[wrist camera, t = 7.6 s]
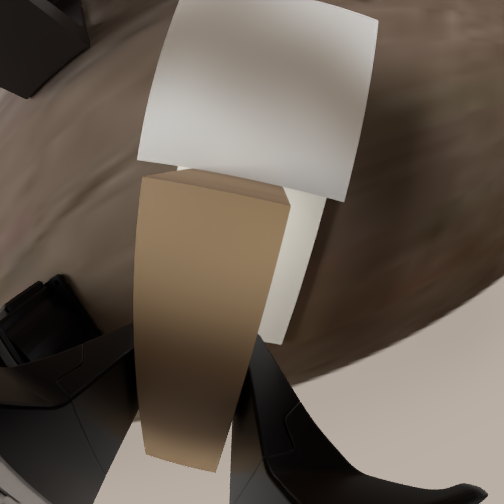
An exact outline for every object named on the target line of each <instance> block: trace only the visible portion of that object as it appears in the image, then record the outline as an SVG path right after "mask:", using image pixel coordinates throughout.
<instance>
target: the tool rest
mask: <svg viewBox="0 0 504 504" xmlns="http://www.w3.org/2000/svg"><path fill="white" fill-rule="evenodd" d="M185 169H192V168H188V167H182V166H178V169H177V171H179V170H185ZM283 189H284V191H285V193H286V196H287V198H288V200H289V203H290V205H291V208H290V212H289V216H288V220H287V224H286V228H285V232H284V236H283V240H282V244H281V248H280V252H279V256H278V260H277V264H276V267H275V271H274V275H273V279H272V283H271V286H270V290H269V294H268V297H267V301H266V305H265V309H264V312H263V316H262V319H261V323H260V327H259V330H258V334H259V335H260V336H261V338H262V339H263V341H264V342H269V343H274V344H279V345H282V342H283V339H284V336H285V333H286V331H287V328H288V325H289V322H290V319H291V316H292V313H293V310H294V307H295V304H296V301H297V297H298V294H299V291H300V288H301V285H302V282H303V278H304V275H305V272H306V269H307V265H308V262H309V259H310V255H311V252H312V249H313V245H314V242H315V238H316V235H317V231H318V228H319V224H320V220H321V217H322V213H323V209H324V206H325V202H326V197H322V196H319V195H315V194H311V193H307V192H303V191H299V190H295V189H291V188H286V187H283Z"/></svg>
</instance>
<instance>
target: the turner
mask: <svg viewBox="0 0 504 504" xmlns="http://www.w3.org/2000/svg"><path fill="white" fill-rule="evenodd" d="M377 30H378V20H376V19H373V18H370V17H368V16H365V15H362V14H359V13H356V12H353V11H350V10H347V9H344V8H341V7H337V6H334V5H330V4H327V3H323V2H319V1H315V0H179V2H178V5H177V8H176V10H175V13H174V16H173V18H172V21H171V24H170V27H169V30H168V33H167V36H166V39H165V42H164V45H163V48H162V51H161V55H160V58H159V61H158V65H157V68H156V72H155V76H154V80H153V84H152V87H151V92H150V96H149V100H148V104H147V109H146V113H145V118H144V123H143V128H142V133H141V139H140V144H139V150H138V157H137V160H141V161H149V162H156V163H163V164H169V165H175V166H182V167H188V168H192V169H185V170H179V171H172V172H166V173H161V174H155V175H149V176H144V177H142V184H141V192H140V200H139V209H138V219H137V231H136V244H135V261H134V292H133V322H134V352H135V369H136V382H137V393H138V403H139V411H140V419H141V426H142V433H143V440H144V446H145V452H146V454H147V455H150V456H153V457H156V458H159V459H163V460H166V461H170V462H173V463H177V464H180V465H185V466H188V467H193V468H197V469H201V470H205V471H210V472H216V469H217V466H218V464H219V460H220V457H221V454H222V451H223V448H224V445H225V442H226V438H227V435H228V432H229V429H230V426H231V422H232V419H233V416H234V413H235V409H236V406H237V403H238V399H239V396H240V393H241V389H242V386H243V383H244V379H245V376H246V372H247V369H248V365H249V362H250V359H251V355H252V352H253V348H254V345H255V341H256V337H257V334H258V330H259V327H260V323H261V319H262V316H263V312H264V309H265V305H266V301H267V297H268V294H269V290H270V286H271V283H272V279H273V275H274V271H275V267H276V264H277V260H278V256H279V252H280V248H281V244H282V240H283V236H284V232H285V228H286V224H287V220H288V216H289V212H290V208H291V205H290V203H289V200H288V198H287V196H286V193H285V191H284V189H283V187H286V188H291V189H295V190H299V191H303V192H307V193H311V194H315V195H319V196H322V197H326V198H330V199H334V200H337V201H341V202H344V200H345V197H346V193H347V189H348V185H349V181H350V177H351V173H352V169H353V165H354V160H355V156H356V152H357V147H358V143H359V138H360V133H361V129H362V124H363V119H364V114H365V109H366V103H367V98H368V92H369V86H370V80H371V74H372V68H373V61H374V54H375V46H376V38H377Z"/></svg>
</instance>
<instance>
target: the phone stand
mask: <svg viewBox="0 0 504 504" xmlns="http://www.w3.org/2000/svg"><path fill="white" fill-rule="evenodd" d="M81 5H82V2H81V0H0V87H1V88H3V89H6V90H8V91H10V92H12V93H14V94H16V95H18V96H20V97H22V98H25V99H28V98H29V97H30V96H31V95H32V94H33V93H34V92H35V91H36V90H37V89H38V88H39V87H40V86H41V85H42V84H44V83H45V82H46V81H47V80H48V79H49V78H50V77H51V76H52V75H53V74H55V73H56V72H57V71H58V70H59V69H60V68H62V67H63V66H64V65H65V64H66V63H68V62H69V61H70V60H71V59H73V58H74V57H75V56H76V55H78V54H79V53H80V52H82V51H83V50H84V49H86V48H87V47H88V46H90V42H89V38H88V33H87V29H86V24H85V18H84V13H83V8H82V7H81Z"/></svg>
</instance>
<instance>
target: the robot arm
mask: <svg viewBox="0 0 504 504" xmlns="http://www.w3.org/2000/svg"><path fill="white" fill-rule="evenodd" d="M58 281H59V282H58ZM138 410H139V403H138V393H137V382H136V369H135V352H134V322H132V323H130V324H128V325H125V326H123V327H121V328H118V329H116V330H114V331H112V332H109V333H107V334H105V335H101V333H100V332H99V330H98V329H97V328H96V326H95V325H94V324H93V322H92V321H91V319H90V318H89V316H88V315H87V314H86V312H85V311H84V309H83V308H82V306H81V305H80V303H79V302H78V300H77V299H76V297H75V295H74V294H73V292H72V291H71V289H70V287H69V286H68V284H67V283H66V281H65V279H64V278H63V276H62V275H60V274H57V275H56V276H54V277H53V278H52V279H50V280H49V281H48V282H47V283H46V284H43V283H42V282H41V281H37V282H36V283H34V284H33V285H31V286H30V287H28V288H27V289H26V290H24V291H23V292H21V293H20V294H18V295H17V296H16V297H14V298H13V299H11V300H10V301H9V302H7V303H6V304H5V305H4V306H3V307H2V308H1V309H0V504H93V502H94V500H95V498H96V496H97V494H98V492H99V489H100V487H101V485H102V483H103V481H104V479H105V477H106V476H105V475H106V474H107V472H108V470H109V468H110V466H111V464H112V462H113V460H114V458H115V456H116V454H117V452H118V450H119V448H120V445H121V444H122V441H123V439H124V437H125V435H126V433H127V431H128V429H129V427H130V425H131V423H132V422H133V420H134V418H135V416H136V414H137V412H138ZM487 496H488V493H486V492H485V490H483V489H481V488H480V487H477V486H474V485H470V484H465V483H463V484H459V485H455V486H453V487H450V488H446V489H439V490H430V489H429V490H428V489H422V488H417V487H412V486H407V485H403V484H398V483H394V482H390V481H386V480H383V479H379V478H376V477H372V476H369V475H366V474H364V473H362V472H360V471H359V470H357V469H356V468H354V467H353V466H352V465H351V464H350V463H349V462H348V461H347V460H346V459H345V458H344V457H343V456H342V454H341V453H340V452H339V451H338V450H337V449H336V448H335V447H334V445H333V444H332V443H331V442H330V441H329V440H328V439H327V437H326V436H325V435H324V434H323V432H322V431H321V430H320V429H319V428H318V426H317V425H316V424H315V423H314V421H313V420H312V418H311V417H310V415H309V414H308V412H307V411H306V409H305V408H304V406H303V405H302V403H301V402H300V400H299V399H298V397H297V395H296V394H295V392H294V391H293V389H292V387H291V386H290V384H289V382H288V381H287V379H286V378H285V376H284V374H283V373H282V371H281V369H280V368H279V366H278V364H277V363H276V361H275V360H274V358H273V356H272V355H271V353H270V351H269V350H268V348H267V346H266V345H265V343H264V341H263V339H262V338H261V336H260V335H259V334H257V337H256V341H255V345H254V348H253V352H252V355H251V359H250V362H249V365H248V369H247V372H246V376H245V379H244V383H243V386H242V389H241V393H240V396H239V399H238V403H237V406H236V409H235V413H234V416H233V419H232V445H231V473H230V504H479V503H480V502H482V501H483V500H484V499H485V498H486V497H487Z"/></svg>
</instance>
